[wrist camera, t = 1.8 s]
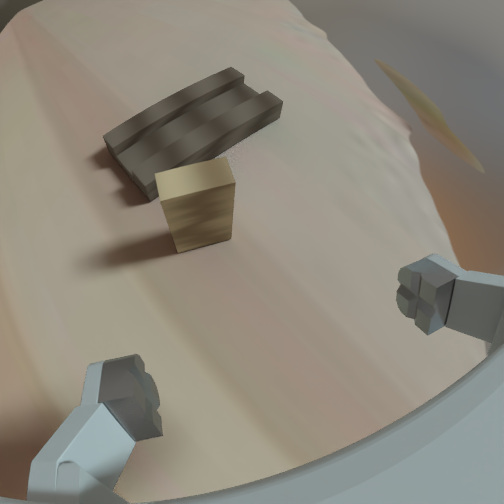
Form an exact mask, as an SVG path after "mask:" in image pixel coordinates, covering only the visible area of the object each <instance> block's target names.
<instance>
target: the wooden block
mask: <svg viewBox="0 0 504 504" xmlns="http://www.w3.org/2000/svg"><path fill="white" fill-rule="evenodd" d="M155 178H156V183H157V188H158V193H159V198H160V202H161V205H162V208H163V211H164V214H165V217H166V220H167V223H168V226H169V229H170V232H171V235H172V238H173V240H174V243H175V246H176V249H177V252H178V253H180V252H184V251H188V250H191V249H195V248H199V247H202V246H206V245H210V244H214V243H217V242H221V241H225V240H229V239H231V235H232V221H233V208H234V195H235V180H234V177H233V174H232V172H231V169H230V166H229V163H228V161H227V158H226V157H222V158H217V159H213V160H208V161H204V162H199V163H195V164H191V165H187V166H183V167H179V168H175V169H171V170H167V171H163V172H159V173H156V174H155Z"/></svg>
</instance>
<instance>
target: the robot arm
mask: <svg viewBox="0 0 504 504" xmlns="http://www.w3.org/2000/svg"><path fill="white" fill-rule="evenodd" d="M398 281H399V283H400V284H401V285H400V286H399V288H398V290H397V296H396V301H397V304H398V308H399V309H400V311H401V312H402V313H403V314H404V315H405V316H406V317H408V318H412V319H414V321H415V325H416V326H417V327H418V328H420V329H421V330H422V331H423V332H424V333H425V334H426V335H427V336H428V335H429V334H431V333H433V332H435V331H437V330H438V329H440V328H442V327H444V326H445V325H446V327H448V328H450V329H453V330H456V331H459V332H462V333H464V334H467V335H470V336H473V337H476V338H478V339H481V340H484V341H487V342H490V343H491V345H490V348H489V350H488V357H486V358H485V359H484V360H483V361H482V362H480V363H479V364H478V365H477V366H476V367H474V368H473V369H472V370H470V371H469V372H468V373H467V374H465V375H464V376H463V377H461V378H460V379H459V380H457V381H456V382H455V383H453V384H452V385H451V386H449V387H448V388H446V389H445V390H444V391H442V392H441V393H439V394H438V395H436V396H435V397H433V398H432V399H430V400H429V401H427V402H426V403H424V404H423V405H421V406H420V407H418V408H416V409H415V410H413V411H412V412H410V413H408V414H407V415H405V416H403V417H402V418H400V419H398V420H396V421H395V422H393V423H391V424H389V425H388V426H386V427H384V428H382V429H380V430H379V431H377V432H375V433H373V434H371V435H369V436H367V437H365V438H363V439H361V440H359V441H357V442H355V443H353V444H351V445H349V446H347V447H344V448H342V449H340V450H338V451H336V452H333V453H331V454H329V455H326V456H324V457H322V458H319V459H317V460H314V461H312V462H309V463H307V464H304V465H302V466H299V467H296V468H293V469H291V470H288V471H285V472H282V473H279V474H276V475H273V476H270V477H267V478H264V479H260V480H257V481H254V482H250V483H246V484H243V485H239V486H235V487H231V488H227V489H223V490H219V491H214V492H210V493H205V494H200V495H194V496H189V497H183V498H177V499H170V500H162V501H154V502H145V503H133V504H504V276H500V275H494V274H488V273H482V272H476V271H469V272H467V271H465V270H463V269H462V268H460V267H459V266H457V265H455V264H454V263H452V262H450V261H448V260H447V259H445V258H443V257H442V256H440V255H438V254H431V255H429V256H427V257H424V258H423V259H421V260H419V261H416V262H414V263H412V264H409V265H407V266H405V267H402V268H400V270H399V273H398ZM159 406H160V399H159V394H158V390H157V387H156V385H155V382H154V380H153V378H152V376H151V375H150V374H148V373H146V372H145V364H144V362H143V360H142V359H141V357H140V355H138V354H134V355H129V356H124V357H120V358H115V359H110V360H105V361H101V362H96V363H91V364H90V365H89V366H88V367H87V372H86V377H85V382H84V388H83V393H82V399H81V405H80V406H78V407H75V409H74V410H73V411H72V412H71V413H70V415H69V416H68V417H67V418H66V419H65V421H64V422H63V423H62V424H61V426H60V427H59V428H58V429H57V430H56V432H55V433H54V434H53V435H52V437H51V438H50V439H49V440H48V442H47V443H46V444H45V445H44V447H43V448H42V449H41V450H40V452H39V453H38V454H37V455H36V457H35V458H34V459H33V460H32V462H31V468H30V474H29V482H28V490H27V499H26V501H25V500H19V499H12V498H7V497H1V496H0V504H130V503H128V502H127V501H126V500H125V499H123V498H122V497H120V496H119V495H117V494H116V493H114V492H113V489H114V487H115V485H116V483H117V480H118V478H119V476H120V474H121V472H122V470H123V468H124V466H125V464H126V462H127V460H128V458H129V456H130V454H131V452H132V450H133V448H134V446H135V444H136V442H135V441H140V440H145V439H150V438H155V437H159V436H163V432H162V421H161V416H160V415H159V413H158V412H157V409H158V407H159Z"/></svg>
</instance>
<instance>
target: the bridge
mask: <svg viewBox="0 0 504 504" xmlns="http://www.w3.org/2000/svg"><path fill="white" fill-rule="evenodd" d="M244 76H245V75H243V74H242V73H240V72H238V71H237V70H235V69H234V68H232V67H230V68H227V69H225V70H223V71H220V72H218V73H216V74H214V75H211V76H209V77H207V78H205V79H203V80H201V81H199V82H197V83H194V84H192V85H190V86H188V87H186V88H184V89H182V90H180V91H178V92H177V93H175V94H173V95H171V96H169V97H167V98H165V99H163V100H161V101H160V102H158V103H156V104H154V105H152V106H151V107H149V108H147V109H145V110H144V111H142V112H140V113H139V114H137V115H135V116H134V117H132V118H130V119H129V120H127V121H125V122H124V123H122V124H121V125H119V126H117V127H116V128H114V129H113V130H111V131H110V132H108V133H107V134H105V135H104V136H103V138H104V140H105V143H106V145H107V148H108V150H109V152H110V153H111V154H112V156H113V157H114V158H115V159H116V161H117V162H118V163H119V164H120V165H121V167H122V168H123V169H124V170H125V171H126V173H127V174H128V175H129V176H130V177H131V179H132V180H133V181H134V182H135V183H136V185H137V186H138V187H139V188H140V189H141V191H142V192H143V193H144V194H145V195H146V196H147V198H148V199H149V200H150V201H152V200H153V199H155V198H156V197H158V196H159V193H158V188H157V183H156V178H155V174H156V173H159V172H163V171H167V170H171V169H175V168H179V167H183V166H187V165H191V164H195V163H199V162H204V161H208V160H211V159H213V158H214V157H216V156H217V155H219V154H220V153H222V152H224V151H225V150H227V149H228V148H230V147H232V146H233V145H235V144H236V143H238V142H240V141H241V140H243V139H244V138H246V137H248V136H249V135H251V134H253V133H254V132H256V131H258V130H259V129H261V128H263V127H264V126H266V125H268V124H270V123H271V122H273V121H275V120H277V119H278V118H280V114H281V109H282V105H283V101H282V100H280V99H279V98H278V97H276V96H275V95H273V94H272V93H270V92H269V91H265V92H263V93H261V94H259V93H257V92H256V91H254V90H253V89H251V88H250V87H248V86H247V85H245V84H244Z"/></svg>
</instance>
